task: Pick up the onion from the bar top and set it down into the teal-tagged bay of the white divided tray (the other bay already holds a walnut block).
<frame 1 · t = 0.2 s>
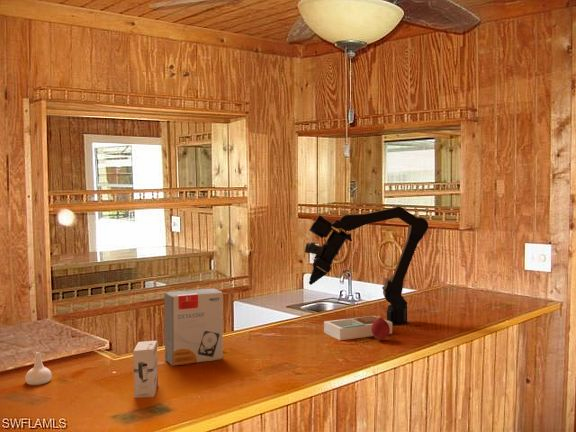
hand: (310, 281, 220), 15 cm above the worktop, tool tilted 30°, fingers open, 9 cm apart
white divided tray: (357, 332, 206), on the worktop
onion: (380, 341, 196), on the worktop
hard drive box: (194, 360, 178), on the worktop
ink box: (146, 392, 151), on the worktop
garlic bulb: (38, 382, 160), on the worktop
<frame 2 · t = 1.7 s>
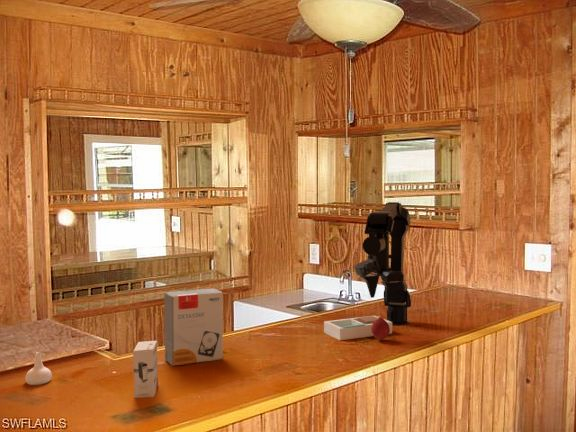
hand: (380, 299, 196), 13 cm above the worktop, tool pointing down, fingers open, 9 cm apart
nothing on the worktop moved.
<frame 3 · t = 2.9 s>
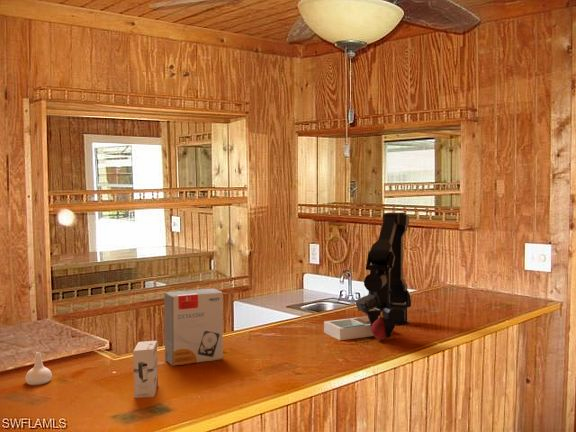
hand: (381, 334, 197), 2 cm above the worktop, tool pointing down, fingers open, 7 cm apart
nothing on the worktop moved.
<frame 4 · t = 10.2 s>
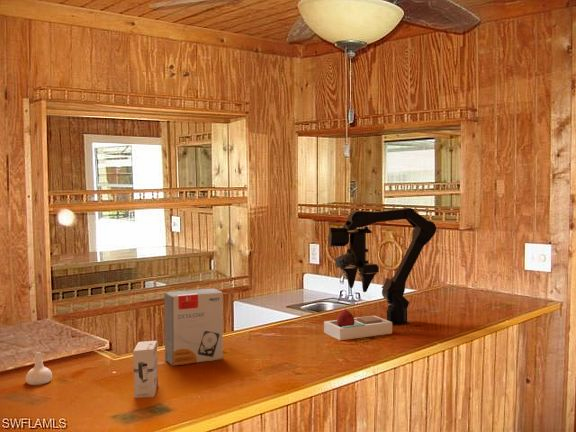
hand: (357, 289, 217), 13 cm above the worktop, tool pointing down, fingers open, 9 cm apart
onion: (345, 332, 203), point 1 cm above the worktop, touching white divided tray
everything else where it was.
at the end: onion inside the target area on the white divided tray (0.7 cm from its centre), point 0.8 cm above the white divided tray's base; the gripper is holding nothing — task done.
